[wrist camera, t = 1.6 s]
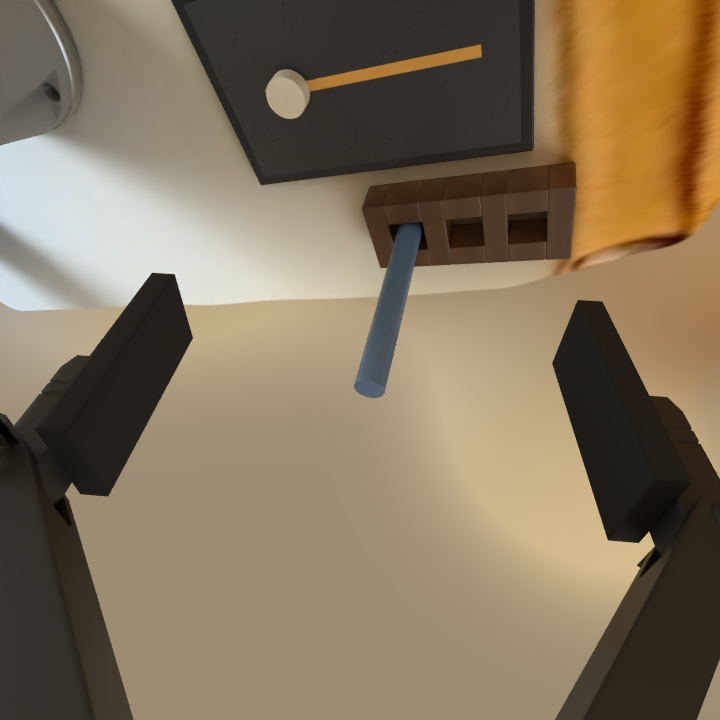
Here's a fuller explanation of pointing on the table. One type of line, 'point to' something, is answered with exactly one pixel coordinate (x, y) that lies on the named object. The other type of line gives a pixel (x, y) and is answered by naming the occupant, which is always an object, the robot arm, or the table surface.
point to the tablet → (370, 80)
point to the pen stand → (478, 199)
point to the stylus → (389, 313)
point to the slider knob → (288, 94)
